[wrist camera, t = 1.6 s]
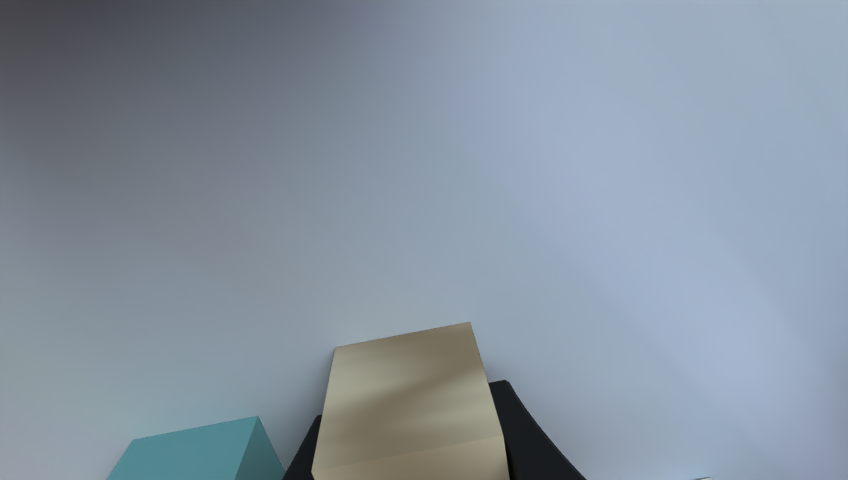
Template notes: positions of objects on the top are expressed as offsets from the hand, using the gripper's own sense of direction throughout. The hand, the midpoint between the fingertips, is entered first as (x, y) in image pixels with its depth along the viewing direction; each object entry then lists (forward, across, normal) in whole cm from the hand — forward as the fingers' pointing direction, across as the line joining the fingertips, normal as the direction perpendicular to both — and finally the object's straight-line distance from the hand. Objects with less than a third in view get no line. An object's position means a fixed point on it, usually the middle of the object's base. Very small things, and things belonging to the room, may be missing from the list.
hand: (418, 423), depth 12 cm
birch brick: (+2, 0, 0) cm, 2 cm away
